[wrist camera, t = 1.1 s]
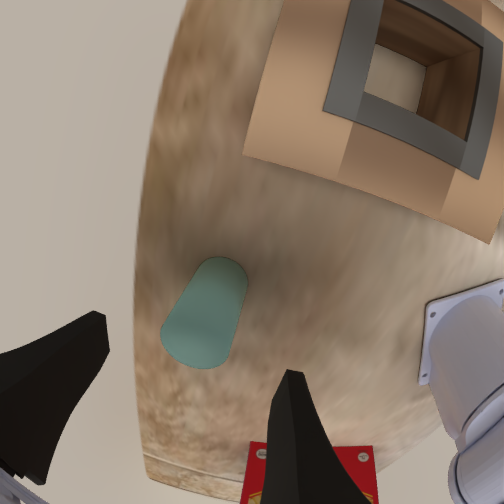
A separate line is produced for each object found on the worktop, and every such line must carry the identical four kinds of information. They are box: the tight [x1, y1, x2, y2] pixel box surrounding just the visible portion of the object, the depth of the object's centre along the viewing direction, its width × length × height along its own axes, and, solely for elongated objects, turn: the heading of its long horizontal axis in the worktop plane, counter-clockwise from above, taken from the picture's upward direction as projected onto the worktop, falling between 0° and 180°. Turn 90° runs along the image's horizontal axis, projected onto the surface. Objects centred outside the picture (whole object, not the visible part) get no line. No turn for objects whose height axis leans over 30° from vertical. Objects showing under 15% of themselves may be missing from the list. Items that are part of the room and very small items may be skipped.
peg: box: [160, 257, 248, 369], centre depth 17 cm, size 4×4×6 cm
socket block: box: [242, 0, 504, 244], centre depth 10 cm, size 12×12×6 cm
